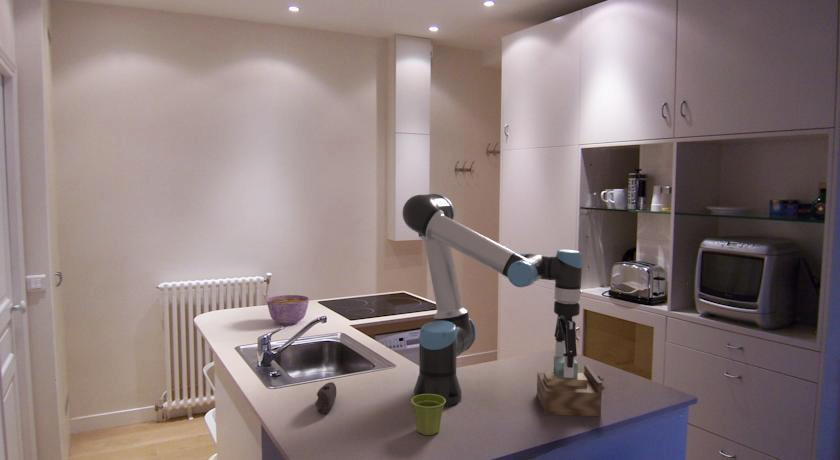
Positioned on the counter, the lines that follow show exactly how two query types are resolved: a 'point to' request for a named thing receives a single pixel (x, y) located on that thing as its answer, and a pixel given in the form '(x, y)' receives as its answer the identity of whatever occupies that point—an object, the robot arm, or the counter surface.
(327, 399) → the perforated stone tool
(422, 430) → the plant pot
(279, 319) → the bowl of food
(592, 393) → the dock
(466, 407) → the counter surface
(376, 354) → the counter surface
